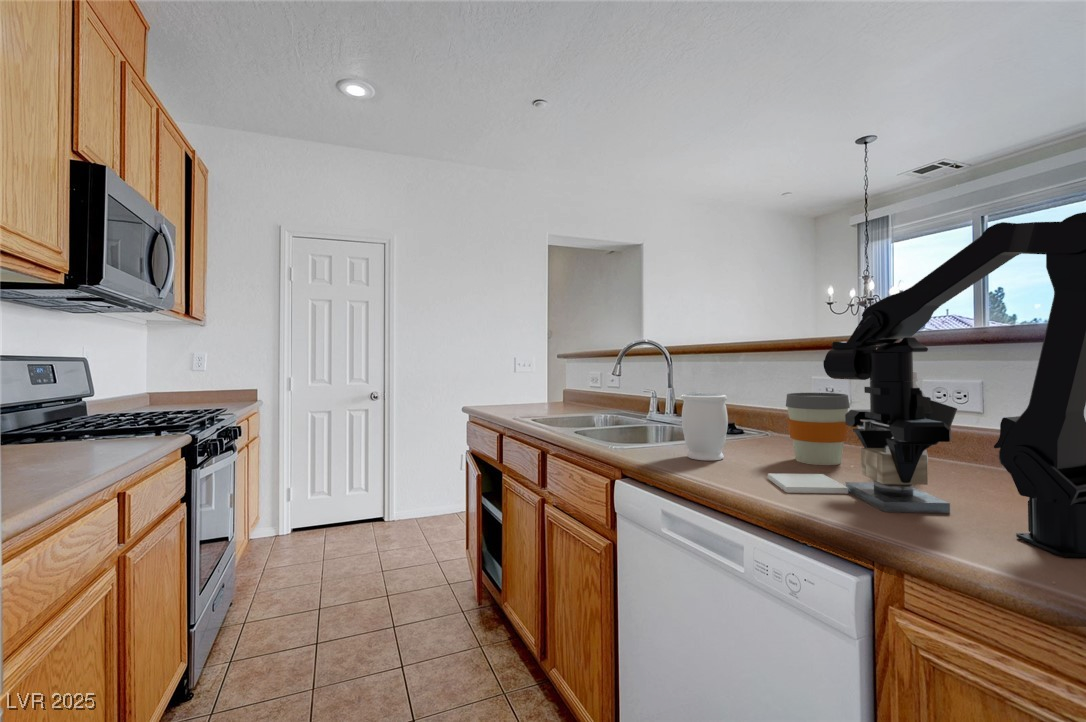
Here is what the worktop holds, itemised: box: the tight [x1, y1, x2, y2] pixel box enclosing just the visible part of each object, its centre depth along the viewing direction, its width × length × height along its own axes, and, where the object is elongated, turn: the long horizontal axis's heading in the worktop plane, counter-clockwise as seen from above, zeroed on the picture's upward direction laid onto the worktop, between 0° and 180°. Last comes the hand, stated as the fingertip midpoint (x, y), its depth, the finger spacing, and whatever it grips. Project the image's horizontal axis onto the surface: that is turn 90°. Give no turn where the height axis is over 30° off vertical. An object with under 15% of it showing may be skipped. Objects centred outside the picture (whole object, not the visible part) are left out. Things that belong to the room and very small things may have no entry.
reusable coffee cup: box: [785, 392, 850, 466], centre depth 109 cm, size 13×13×15 cm
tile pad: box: [767, 472, 849, 495], centre depth 88 cm, size 10×10×1 cm
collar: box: [860, 447, 929, 486], centre depth 78 cm, size 6×6×4 cm
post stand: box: [845, 446, 951, 514], centre depth 78 cm, size 12×9×9 cm
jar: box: [681, 393, 729, 462], centre depth 115 cm, size 11×10×15 cm
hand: (893, 477), depth 78 cm, fingers closed on collar, 6 cm apart
